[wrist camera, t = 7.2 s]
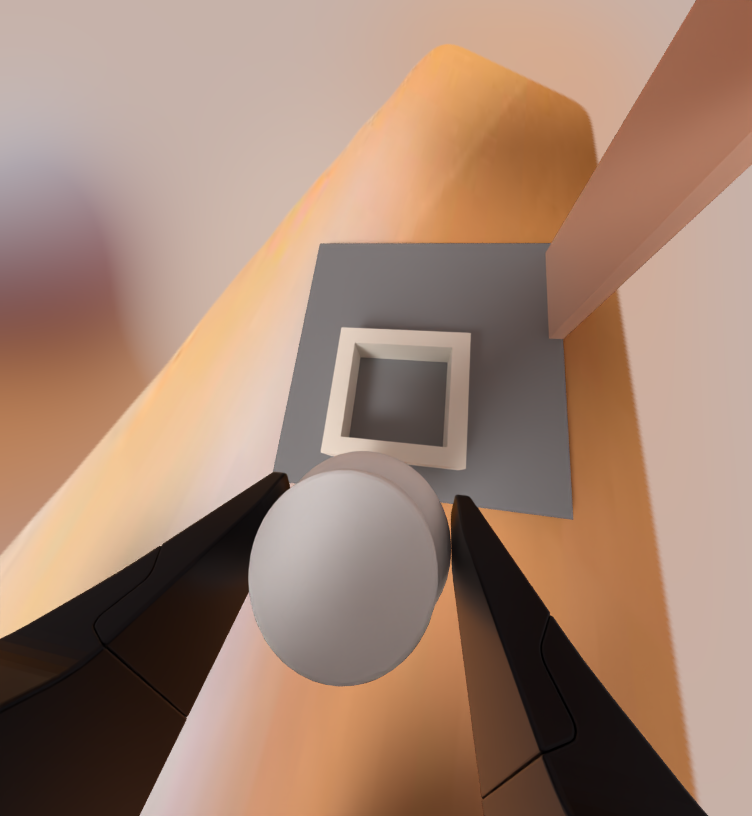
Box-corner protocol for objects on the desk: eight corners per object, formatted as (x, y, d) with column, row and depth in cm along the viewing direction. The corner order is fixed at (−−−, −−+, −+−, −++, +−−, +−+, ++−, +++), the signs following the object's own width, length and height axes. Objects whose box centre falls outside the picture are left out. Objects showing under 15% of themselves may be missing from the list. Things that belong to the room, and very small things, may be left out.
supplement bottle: (424, 459, 15) (453, 423, 6) (438, 566, 14) (504, 738, 5) (330, 467, 16) (222, 446, 6) (334, 572, 14) (201, 741, 5)
